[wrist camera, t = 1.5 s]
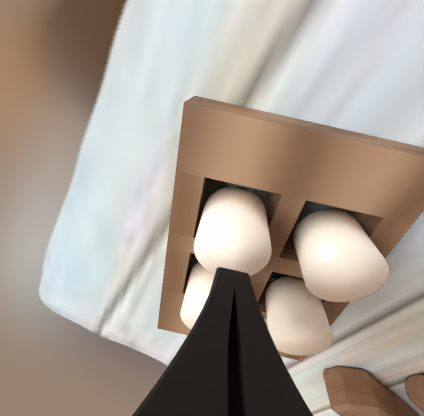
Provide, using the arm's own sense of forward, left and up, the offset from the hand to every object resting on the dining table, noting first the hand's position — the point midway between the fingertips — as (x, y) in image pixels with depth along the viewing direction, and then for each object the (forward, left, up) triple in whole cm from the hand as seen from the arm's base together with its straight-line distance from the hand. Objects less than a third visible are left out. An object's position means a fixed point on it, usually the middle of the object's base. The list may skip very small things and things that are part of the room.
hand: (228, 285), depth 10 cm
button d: (-6, +6, -6) cm, 10 cm away
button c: (-6, 0, -6) cm, 8 cm away
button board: (-3, +4, -8) cm, 10 cm away
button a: (0, 0, -6) cm, 6 cm away
